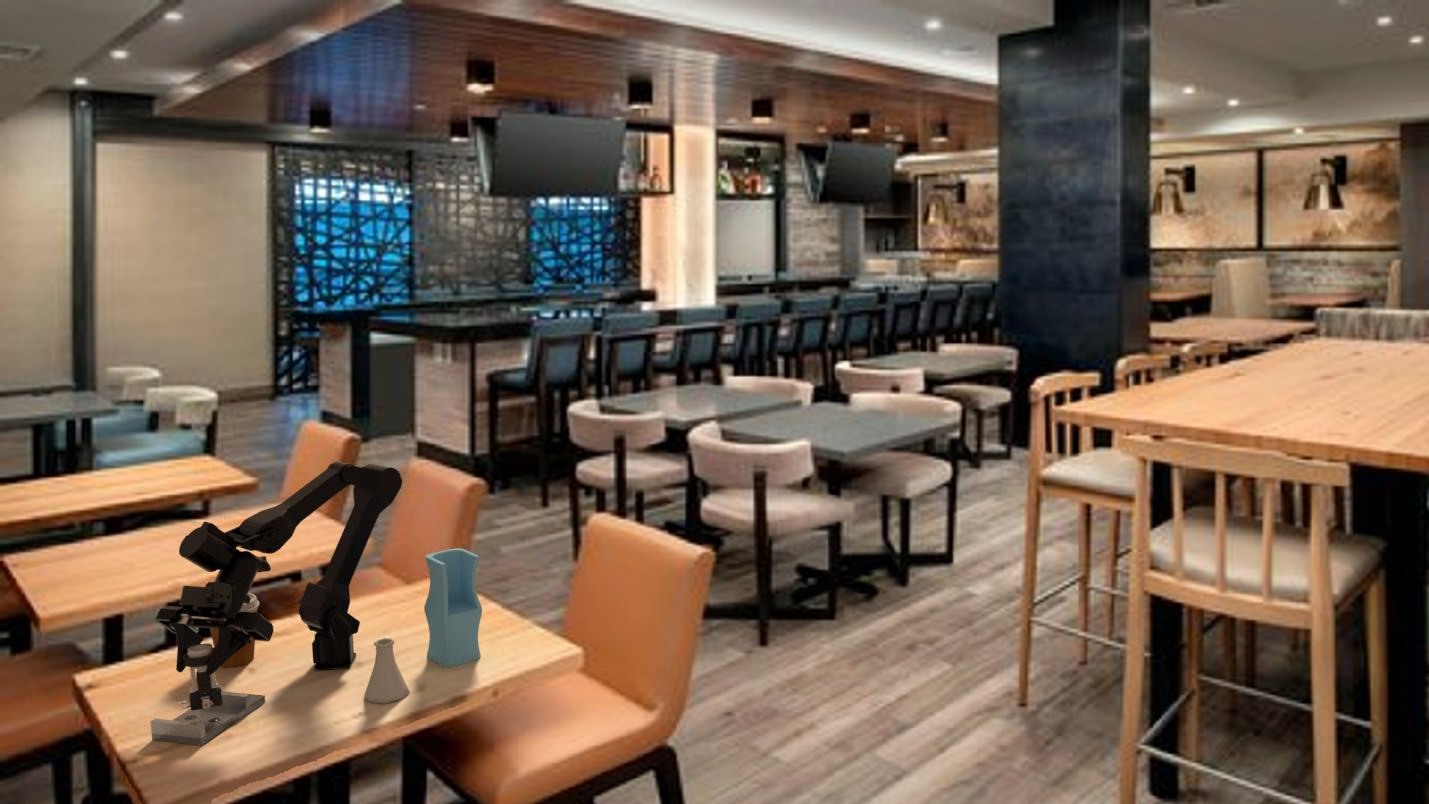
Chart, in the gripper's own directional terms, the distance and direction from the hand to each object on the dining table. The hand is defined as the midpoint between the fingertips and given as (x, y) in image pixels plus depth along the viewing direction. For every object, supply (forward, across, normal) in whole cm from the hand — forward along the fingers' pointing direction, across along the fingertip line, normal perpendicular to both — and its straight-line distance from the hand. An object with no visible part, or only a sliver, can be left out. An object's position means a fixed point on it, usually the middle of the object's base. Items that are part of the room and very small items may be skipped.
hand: (193, 672), depth 168 cm
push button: (+4, 0, +6) cm, 7 cm away
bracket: (+5, 0, +9) cm, 10 cm away
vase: (-18, +28, +33) cm, 47 cm away
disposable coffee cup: (-11, -12, +26) cm, 31 cm away
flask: (-5, +24, +20) cm, 31 cm away
